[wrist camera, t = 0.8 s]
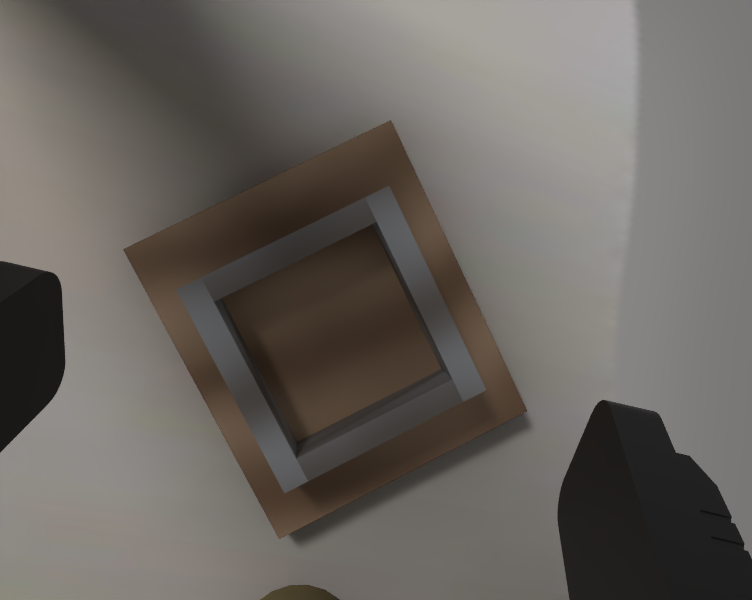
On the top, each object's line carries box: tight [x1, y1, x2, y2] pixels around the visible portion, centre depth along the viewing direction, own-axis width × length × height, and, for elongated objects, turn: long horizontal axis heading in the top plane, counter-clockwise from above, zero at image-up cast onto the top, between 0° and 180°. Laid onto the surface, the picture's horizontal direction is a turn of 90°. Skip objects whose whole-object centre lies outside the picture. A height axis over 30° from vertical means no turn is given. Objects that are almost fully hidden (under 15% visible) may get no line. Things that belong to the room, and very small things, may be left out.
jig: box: [123, 120, 527, 539], centre depth 31 cm, size 16×14×4 cm
